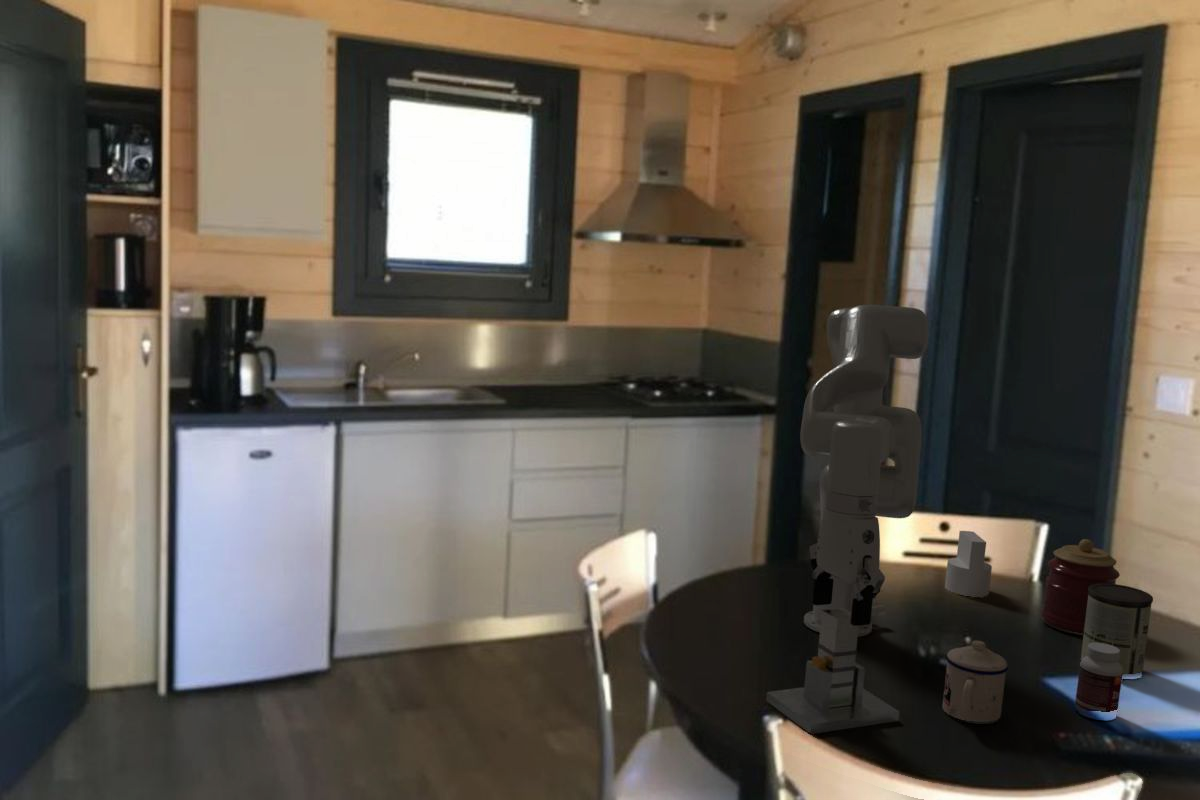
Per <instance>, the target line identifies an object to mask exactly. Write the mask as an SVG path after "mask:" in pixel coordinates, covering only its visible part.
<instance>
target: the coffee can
mask: <svg viewBox="0 0 1200 800" xmlns="http://www.w3.org/2000/svg"><path fill="white" fill-rule="evenodd" d="M1088 592H1089V593H1088V601H1087V609H1086V617H1085V627H1084V635H1083V636H1082V643H1081V655H1080V660H1082V658H1084V657H1086V656H1088V654H1087V647H1088V644H1089V643H1104V644H1108V645H1112V646H1114V647H1116V648H1118V649H1119V650H1120V658H1119V660H1118V661H1117V662H1118V663H1119V664H1120V665H1121V666H1122V668H1123V674H1135V673H1140V672H1142V671H1143V672H1144V665H1145V656H1146V649H1147V648H1146V647H1147V640H1148V633H1149V625H1150V619H1151V610H1152V604H1153V601H1154V597H1153V596H1152V595H1151V594H1150V593H1149V592H1146V591H1144V590H1142V589H1140V588H1136V587H1131V586H1128V585H1122V584H1117V583H1116V584H1105V583H1102V584H1093V585H1090V586H1089V587H1088Z"/></svg>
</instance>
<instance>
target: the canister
mask: <svg viewBox="0 0 1200 800" xmlns="http://www.w3.org/2000/svg"><path fill="white" fill-rule="evenodd" d="M1053 555H1054V556H1055V557H1054V558H1052V559H1049V560H1048V562H1047V567H1048V568H1049V572H1048V576H1047V577H1046V578H1045V589H1044V590H1045V591H1044V597H1043V598H1044V599H1043V605H1042V607H1041V616H1042V619H1043V621H1044V622H1046V623H1047V624H1049V625H1052V626H1054V627H1057V628H1060V629H1063V630H1068V631H1072V632H1078V633H1084V627H1085V617H1086V609H1087V601H1088V593H1089V592H1088V587H1089V586H1090V585H1093V584H1102V583H1105V584H1117V583H1116V582H1117V579H1119V577H1120V576H1121V575H1120V572H1119V571H1118V570H1117V569H1116V568H1115V565H1116V564H1117V560H1116V559H1115V558H1114V557H1113V556H1111V555H1110V553H1108V552H1107V551H1105V550H1103V549H1099V548H1096V547H1094V543H1093V542H1092V540H1091V539H1087V538H1083V539H1081V540H1080V541H1079V543H1078V545H1077V544H1067V545H1063V546H1062V547H1061V548H1060V547H1059V548H1057V549H1056V550H1053ZM1042 619H1041V620H1042ZM1043 621H1042V622H1043ZM1044 622H1043V623H1044Z"/></svg>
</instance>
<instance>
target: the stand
mask: <svg viewBox="0 0 1200 800" xmlns="http://www.w3.org/2000/svg"><path fill="white" fill-rule="evenodd" d="M811 657H812V659H811V660H806V665H805V675H804V676H805V677H804V678H805V679H804V687H795V688H788V689H781V690H779V689H778V690H774V691H773V690H771V691H767V692H766V699H765V701H766V702H767V703H768V704H769V705H770V706H772V707H773V708H775V709H776V710H777V711H778V712H779V713H781V714H783V715H784V716H785V717H787V718H788V719H789V720H790V721H792V723H795V724H796V725H797V726H798V727H800V728H801V727H802V728H803V729H802V728H801V729H802V730H804V729H805V730H806V731H808V732H809V733H811V734H810V735H814V734H820V733H827V732H832V731H833V732H834V731H841V730H848V729H855V728H860V727H866V726H873V725H874V726H875V725H879V724H880V725H881V724H887V723H888V724H889V723H893V722H894V723H895V722H899V719H900V710H898V709H896V708H895V707H893V706H891V705H890V704H888V703H887V702H886V701H883V700H882V699H881V698H879V697H877V696H875V694H873V693H871V692H869V691H868V690H866V689H865V688H864V685H865V675H866V674H865V673H866V667H864V666H862V665H861V664H859V663H858V662H856V661H855V666H856V668H855V670H854V679H853V682H854V686H853V689H852V697H853V699H852V702H851V705H846V706H839V707H832V708H829V704H830V693H831V682H832V672H831V671H830V670H828V669H827V668H826V663H827V661H826V660H824V659H823V658H821V657H820V656H818V655H817V656H811ZM805 730H804V731H805ZM806 731H805V732H806ZM808 732H807V733H808ZM809 733H808V734H809Z"/></svg>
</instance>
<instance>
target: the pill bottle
mask: <svg viewBox="0 0 1200 800" xmlns="http://www.w3.org/2000/svg"><path fill="white" fill-rule="evenodd" d="M1087 654H1088V656H1086V657H1084V658H1082V660H1081V659H1080V660H1081V662H1080V661H1079V671H1078V677H1077V678H1078V679H1077V686H1076V694H1075V702H1074V705H1075V704H1076V705H1077V706H1078V707H1079V708H1080V709H1084V710H1086V711H1101V712H1110V711H1114V710H1117V709H1118V710H1119V704H1120V703H1119V702H1120V694H1121V687H1122V675H1123V668H1122V666H1121V665H1120V664H1119V663H1118V662H1117V661H1118V660H1119V658H1120V650H1119V649H1118V648H1116V647H1114V646H1112V645H1108V644H1104V643H1089V644H1088V647H1087Z"/></svg>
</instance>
